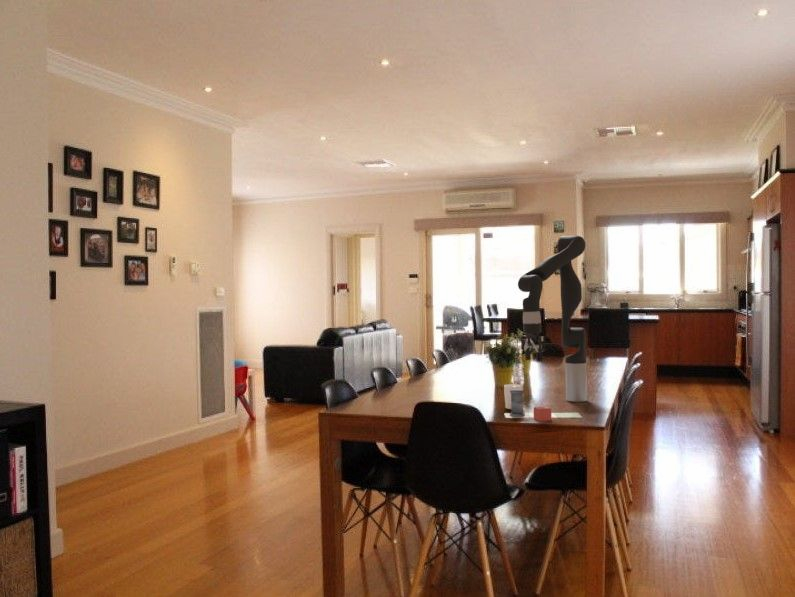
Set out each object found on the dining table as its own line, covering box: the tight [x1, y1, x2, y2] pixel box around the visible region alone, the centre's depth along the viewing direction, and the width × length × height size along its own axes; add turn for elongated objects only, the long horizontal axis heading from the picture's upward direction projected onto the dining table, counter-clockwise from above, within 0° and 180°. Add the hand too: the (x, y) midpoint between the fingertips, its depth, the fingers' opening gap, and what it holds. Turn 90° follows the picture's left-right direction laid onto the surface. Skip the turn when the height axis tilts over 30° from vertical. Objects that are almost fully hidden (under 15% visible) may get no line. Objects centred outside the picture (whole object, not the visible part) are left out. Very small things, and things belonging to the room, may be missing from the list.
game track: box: [503, 412, 583, 419], centre depth 273 cm, size 10×30×1 cm, turn 85°
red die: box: [533, 405, 552, 422], centre depth 264 cm, size 5×5×6 cm
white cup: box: [503, 383, 523, 410], centre depth 292 cm, size 8×8×10 cm
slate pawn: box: [509, 389, 526, 417], centre depth 274 cm, size 6×6×10 cm
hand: (533, 360), depth 286 cm, fingers open, 8 cm apart
